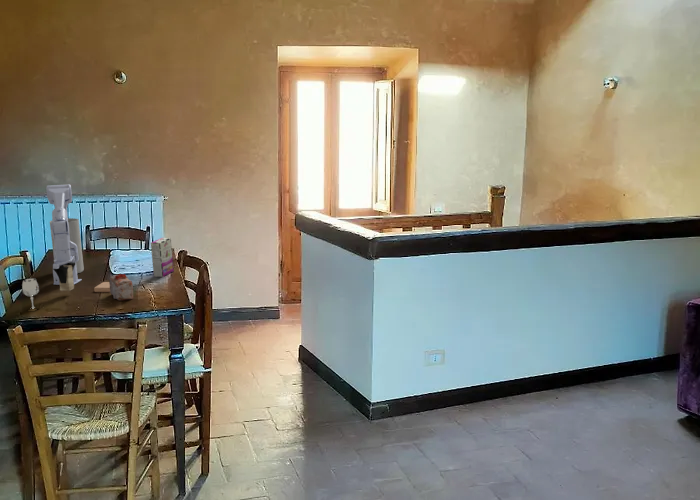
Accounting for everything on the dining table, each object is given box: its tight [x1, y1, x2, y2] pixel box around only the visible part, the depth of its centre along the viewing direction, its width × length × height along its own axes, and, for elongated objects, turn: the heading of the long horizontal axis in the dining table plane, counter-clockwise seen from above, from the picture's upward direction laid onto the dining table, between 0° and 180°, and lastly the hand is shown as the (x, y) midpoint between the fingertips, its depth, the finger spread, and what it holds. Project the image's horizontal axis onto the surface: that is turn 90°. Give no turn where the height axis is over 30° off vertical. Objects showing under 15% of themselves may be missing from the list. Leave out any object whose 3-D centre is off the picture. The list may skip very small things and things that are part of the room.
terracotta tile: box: [94, 281, 110, 293], centre depth 286 cm, size 2×9×7 cm
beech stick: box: [59, 265, 75, 292], centre depth 275 cm, size 4×4×10 cm
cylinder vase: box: [49, 217, 85, 274], centre depth 313 cm, size 12×12×25 cm
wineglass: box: [21, 278, 40, 309], centre depth 256 cm, size 6×6×12 cm
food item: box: [108, 273, 134, 302], centre depth 272 cm, size 14×8×10 cm, turn 35°
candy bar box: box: [150, 237, 175, 278], centre depth 308 cm, size 11×5×16 cm, turn 168°
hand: (66, 281), depth 276 cm, fingers closed on beech stick, 4 cm apart
